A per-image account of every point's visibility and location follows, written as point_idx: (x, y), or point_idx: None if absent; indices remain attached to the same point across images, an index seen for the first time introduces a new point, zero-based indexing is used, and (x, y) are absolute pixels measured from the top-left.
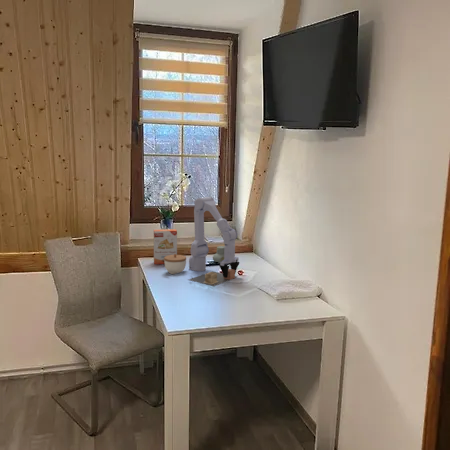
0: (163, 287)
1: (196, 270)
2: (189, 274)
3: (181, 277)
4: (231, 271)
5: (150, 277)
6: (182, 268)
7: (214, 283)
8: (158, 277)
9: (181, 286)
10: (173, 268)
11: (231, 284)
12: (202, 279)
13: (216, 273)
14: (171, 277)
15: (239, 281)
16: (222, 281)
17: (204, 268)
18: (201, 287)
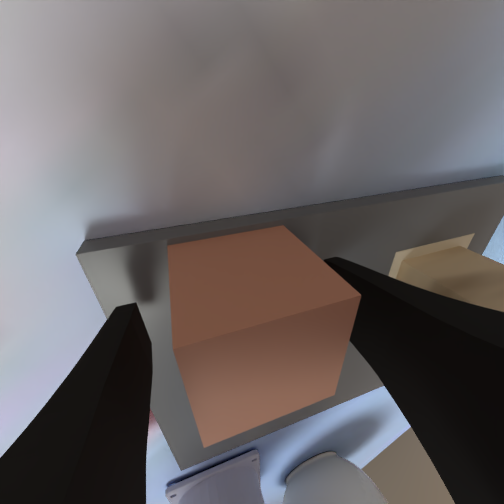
0: None
1: (257, 479)
2: (300, 444)
3: (359, 416)
4: (319, 302)
5: (400, 433)
6: (337, 487)
7: (451, 234)
8: (391, 430)
9: None
10: (372, 483)
11: (361, 117)
12: None
13: None
14: (375, 423)
15: (178, 117)
16: (379, 232)
17: (217, 501)
18: (489, 249)
